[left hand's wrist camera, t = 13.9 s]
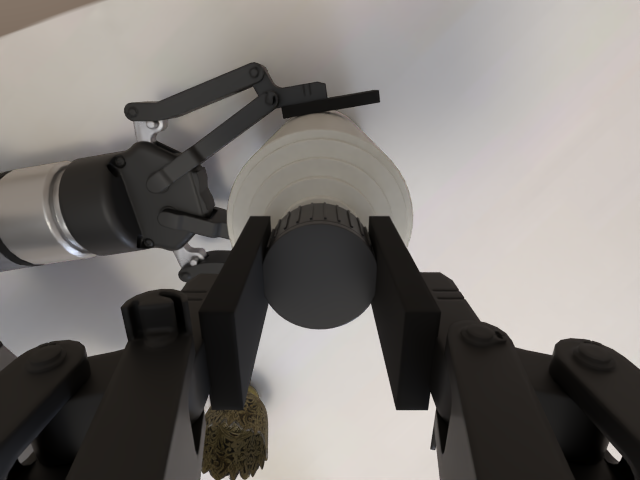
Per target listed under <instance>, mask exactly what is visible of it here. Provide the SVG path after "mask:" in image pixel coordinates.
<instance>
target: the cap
mask: <svg viewBox="0 0 640 480" xmlns="http://www.w3.org/2000/svg"><path fill="white" fill-rule="evenodd" d="M266 249H267V251H266V254H265V257H264V260H263V279H264V295H265V298H266V299H267V301H268V303H269V304H270V306H271V307H272V308H273V309H274V310H275V311H276V312H277V313H278V314H279V315H280V316H281V317H283V318H284V319H286V320H287V321H289V322H291V323H293V324H295V325H298V326H301V327H304V328H309V329H330V328H335V327H339V326H342V325H344V324H347V323H349V322H351V321H353V320H354V319H356V318H357V317H359V316H360V315H361V314H362V313H363V312H364V311H365V310H366V309H367V308H368V307H369V305H370V304H371V302H372V301H373V299H374V296H375V289H376V272H377V261H376V258H375V254H374V251H373V248H372V243H371V240H370V237H369V234H368V231H367V228H366V226H365V227H364V226H363V224H362V223H361V222H360V219H359V218H358V217H357V218H356V217H355V216H354V215H353V214H352V213H350V210H345V209H344V208H341V207H339V206H338V205H332V204H326V202H324V203H311V204H307V205H304V206H301V205H300V206H299V207H298V208H296V209H294V210H292V211H291V212H290V211H289V212H288V213H287V215H285V216H284V217H283V218H282V219H279V221H278V224H277V225H276V227H275V229H272V232H271V235H270V237H269V240H268V243H267V246H266Z"/></svg>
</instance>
